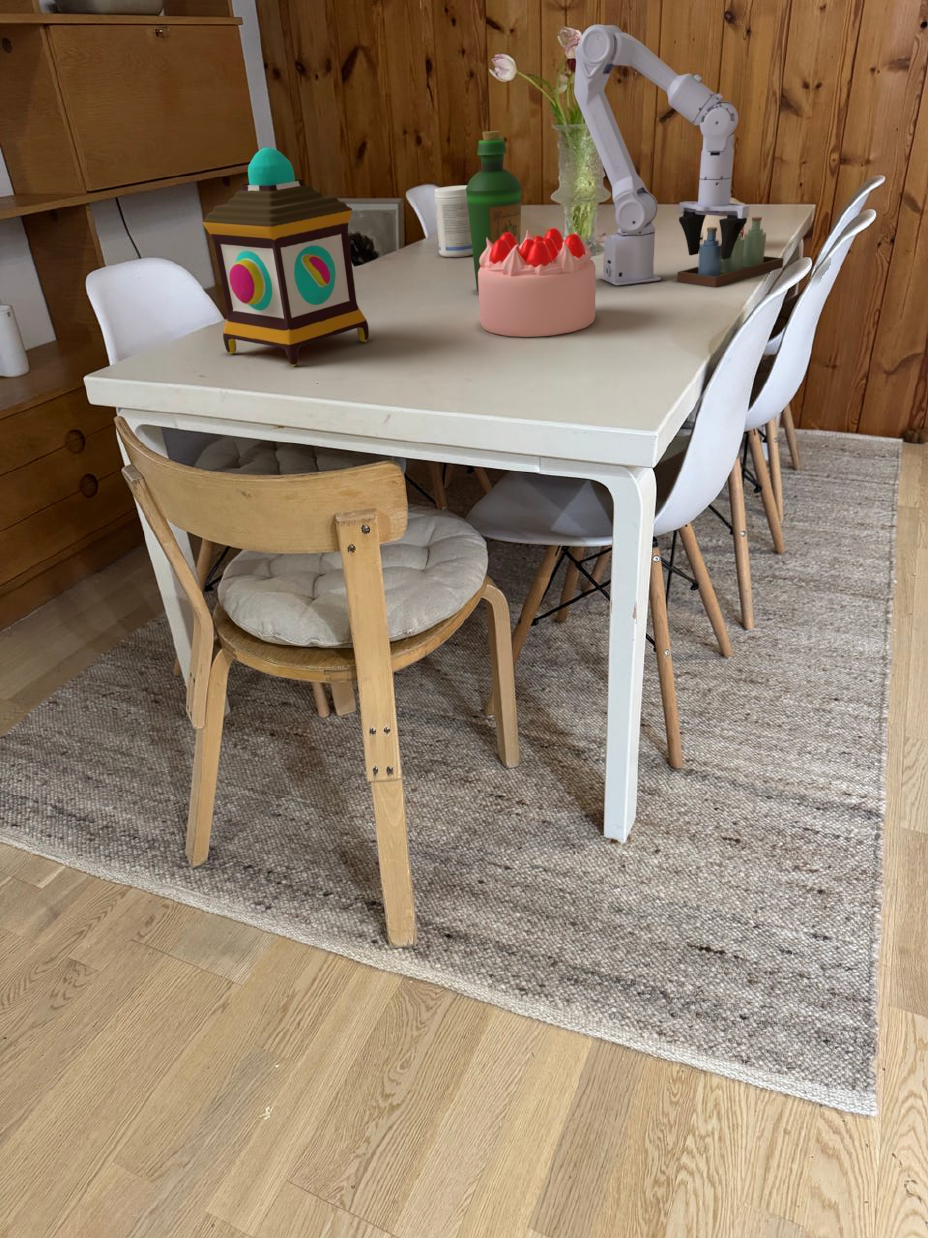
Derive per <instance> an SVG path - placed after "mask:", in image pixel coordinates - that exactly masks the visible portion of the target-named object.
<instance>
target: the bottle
mask: <svg viewBox="0 0 928 1238" xmlns="http://www.w3.org/2000/svg"><path fill="white" fill-rule="evenodd" d="M481 133H482V138H483V139H480V140H478V144H477V145H478V146H477V156H480V163H481V170H479V171H477V172H476V174H474V175H473V176H472V177H471V178H470V179H469V181H468V183H467V187H466V195H467V204H468V213H469V223H470V232H471V241H472V250H473V255H472V258H473V268H474V278H475V284H476V291H477V292H478V293H479V286H478V271H479V269H480V267H481V265H480V262H479V259H480V256H481V255H482V253H483V252H484V251H485V249H486V248H487V241H486V239H487V238H488V240H489V241H490V242H491V243H492V244H493V245H494V243H495V242H496V241H497V240H498V239H500V237H501V235H502V234H503V233H505V232H510V233H512V234H513V236H514V237H515V239H516V241H517V243H518V245H519V246H520V245H521V230H522V229H521V227H522V222H521V221H522V185H521V183H520V181H519V179H518V178H517V176H516V175H515V174H513V173H512V172H510V171H509V170H508V169H505V168H504V159H505V158H504V157H505V154H507V147H506V143H505V142H506V141H505V139H504V138H500V135H501V134H500V133H501V131H500V130H493V131H492V130H490V131H483V132H481Z"/></svg>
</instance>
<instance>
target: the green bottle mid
mask: <svg viewBox="0 0 928 1238" xmlns="http://www.w3.org/2000/svg"><path fill="white" fill-rule="evenodd" d="M744 241H745V238H744V237H743V238H742V237H741V234H739V236H738V238H737V240H736V243H735V246H734V248H733V252H732V255H731V258H728V259H721V269H720V272H721V273H729V272H733V271H736V270H740V269H742V263H743V252H744Z"/></svg>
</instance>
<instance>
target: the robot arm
mask: <svg viewBox="0 0 928 1238" xmlns="http://www.w3.org/2000/svg"><path fill="white" fill-rule="evenodd" d="M574 55H575V62H576V63H575V74H574V83H573V84H574V85H573V94H574V97H575V99H576V102H577V104H578V107H579V109H580V112H581V114H582V117H583V119H584V121H585V124H586V127H587V129H588V131H589V134H590V136H591V139H592V141H593V145H594V146H595V149H596V151H597V154H598V156H599V159H600V161H601V163H602V166H603V168H604V171H605V173H606V176H607V178H608V181H609V183H610V185H611V190H612V191H611V192H612V193H611V194H612V201H613V204H614V207H615V217H614V218H615V222H616V225H617V227H618V228H617V233H615V234H611V235H610V234H609V235H607V236H606V238H605V239H604V244H603V271H602V272H603V273H602V275H603V276H601V279H602V280H603V281H606V282H607V283H610V284H612V285H614V286H623V285H624V286H626V285H635V284H641V283H650V282H657V281H662V278H661V277H660V276H658V275H655V274H654V266H655V265H654V264H655V263H654V262H655V244H656V243H655V242H656V241H655V239H656V227H654V225H653V221H654V220H655V219H656V217H657V214H658V211H659V210H658V209H659V207H658V206H659V205H658V201H657V199H656V197H655V196H654V195H653V193H651V192H649V190H648V189H647V187H646V185H645V183H644V181H643V179H642V178H641V177H640V176H639V174H638V173H637V170H636V168H635V165H634V163H633V160H632V157H631V155H630V153H629V150H628V148H627V145H626V144H625V141H624V138H623V135H622V133H621V130H620V127H619V125H618V123H617V120H616V118H615V114H614V113H613V110H612V108H611V105H610V103H609V100H608V97H607V95H606V92H605V89H606V86H607V83H608V80H609V78H610V75H611V72H612V71H613V69H614V68H615V67H616V66H622V67H623V66H624V67H625V66H626V67H632V69H635V70H636V71H637V72H639V73H640V74H641V75H643V76H644V77H645V78H647V79H648V80H649V81H651V82H652V83H653V84H655V85H656V86H657V87H659V88H660V89H662V90H663V91H664V92H666V94H667V101H668V103H667V104H668V105H669V106H670V107H672V108H673V109H674V110H675V111H676V112H677V113H679V114H680V115H681V116H682V117H684V118H685V119H686V120H688V121H689V123H691V124H693V125H694V126H695V127H696V126H699V128H700V129H699V130H700V133H701V135H702V136H703V137H702V150H701V155H700V167H699V182H698V183H699V184H698V197H697V198H698V199H697V201H688V200H687V201H679V204H678V205H679V206H678V214H679V215H681V214H682V216H679V217H678V223H679V224H680V226H681V228H682V230H683V233H684V236H685V240H686V245H687V251H688V255H689V256H694V255H699V247H700V244H701V238H700V237H701V231H702V226H703V223H704V219H705V216H706V215H714V216H726V217H727V218H725V219H721V220H719V223H720V228H721V236H722V244H721V259H728V258H731V255H732V252H733V248H734V246H735V243H736V240H737V238H738V236H739V234H740V232H741V230H742V228H743V227H744V228H745V225H746V224H747V222H748V218H749V214H750V205H747V204H746V205H739V204H734V203H730V193H731V191H732V176H733V167H734V156H735V155H734V154H735V149H734V144H735V134H734V131H735V130H736V128H737V126H738V124H739V114H738V111H737V108H736V107H735V106H734V105H733V103H732V102H731V101H728V100H727V101H726V100H722V99H724V96H723V95H722V94H721V93H720V92H718V93H715V92H714V91H712V90H711V88H709V87H708V86H707V85H705V84H704V83H702V81H703V77H702V76H701V75H699V74H698V73H697V74H695V75H692V73H689V72H688V73H685V74H681V75H679V74H678V73H677V72H675V70H673V69H672V68H671V67H670V66H669V65H667V64H666V63H665V62H664V61H663V60H662V59H661V58H660V57H659V56H657V55H656V54H655V53H653V52H652V50H650V49H649V48H648V47H647V46H646V45H644V43H642V42H641V41H639V40H638V39H637V38H635V37H634V36H632V35H631V34H629V33H627V32H623V31H622V29H621V28H620V27H618V26H616V25H613V24H607V25H606V24H605V25H603V24H592V25H591V26H589V27H588V28H586V29H585V31H584V32H583V33H582V35H581V37H580V39H579V42H578V44H577V45H576V49H575V51H574ZM707 211H719V212H707Z"/></svg>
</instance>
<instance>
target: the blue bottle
mask: <svg viewBox="0 0 928 1238" xmlns="http://www.w3.org/2000/svg"><path fill="white" fill-rule="evenodd" d="M707 231H708V233H707V239H706V240H704V243H703V242H702V243H700V247H699V253H698V262H697V263H698V266H697V267H698V274H702V275H710V276H719V275H720V269H721V243H719V240H718V239H716V231H717V227H708V228H707Z"/></svg>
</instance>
